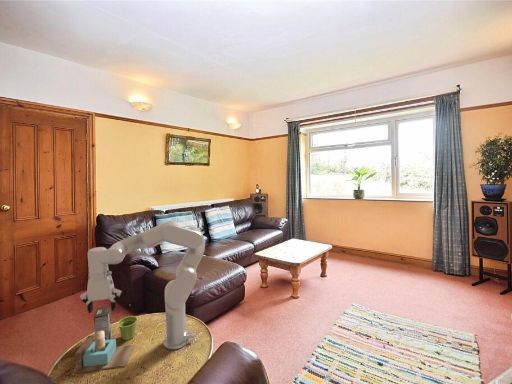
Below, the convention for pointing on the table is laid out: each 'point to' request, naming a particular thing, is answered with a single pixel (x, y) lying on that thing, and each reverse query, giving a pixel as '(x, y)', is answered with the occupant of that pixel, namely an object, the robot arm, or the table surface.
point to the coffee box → (103, 321)
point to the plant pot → (127, 327)
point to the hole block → (99, 354)
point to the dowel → (99, 341)
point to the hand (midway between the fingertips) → (102, 310)
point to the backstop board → (116, 361)
